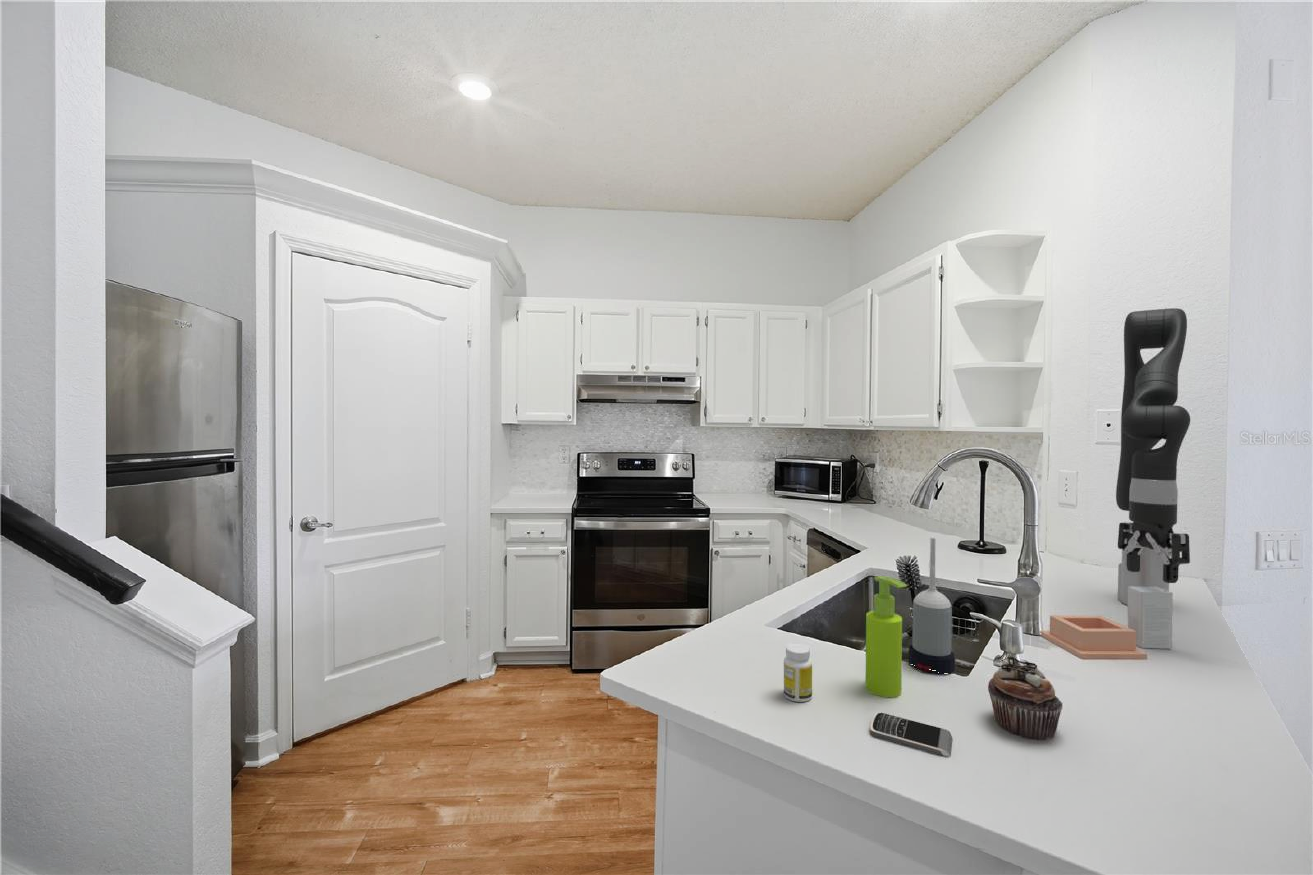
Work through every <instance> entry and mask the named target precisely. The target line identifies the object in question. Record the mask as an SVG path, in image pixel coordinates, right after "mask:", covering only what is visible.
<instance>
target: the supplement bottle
mask: <svg viewBox="0 0 1313 875" xmlns="http://www.w3.org/2000/svg"><path fill="white" fill-rule="evenodd" d="M810 655H811V652H810V647H809V646H807V645H805V644H802V643H790V644H789V643H788V644H786V646H785V657H784V658H783V694H784V696H785V698H786V699H788V700H790V701H791V702H792V701H793V702H796V703H797V702H798V703H806V702H809V701H810V700H811V699H812V698H813V661H812V659H811V658H810V657H811V656H810Z"/></svg>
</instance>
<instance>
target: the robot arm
mask: <svg viewBox="0 0 1313 875" xmlns="http://www.w3.org/2000/svg"><path fill="white" fill-rule="evenodd" d="M1187 330H1188V318H1187V314H1186V312H1185V310H1184V309H1182V308H1179V307H1178V308H1177V307H1176V308H1174V307H1173V308H1171V307H1170V308H1160V309H1147V310H1146V309H1145V310H1137V311H1136V310H1135V311H1131V312H1129V313H1128V314H1127V315H1126V318H1125V320H1124V327H1123V359H1124V360H1123V361H1124V366H1123V367H1124V378H1123V390H1122V391H1123V392H1122V403H1121V415H1120V416H1121V417H1120V418H1121V419H1120V420H1121V421H1120V453H1119V454H1120V455H1119V456H1120V457H1119V463H1118V464H1119V465H1118V472H1117V480H1116V487H1115V499H1116V500H1115V501H1116V505H1117V507H1118V508H1119V509H1120V511H1121V510H1122V511H1125V512H1126V511H1127V512H1128V519H1129V521H1131V522H1119V524H1118V525H1119V526H1118V536H1117V537H1118V538H1117V548H1118V549H1119V550H1121V563H1119V564H1118V569H1117V570H1118V573H1117V600H1119V601H1120V602H1121V603H1122V604H1124V605H1126V606H1128V586H1136V587H1159V588H1162V589H1164V590H1167V591H1169V592H1170V584H1176V583H1177V581H1178V580H1179V570H1180V569H1179V566H1180V565H1187V564H1188V565H1189V564H1190V563H1191V557H1190V556H1191V554H1190V535H1189V534H1188V533H1177V532H1174V530H1173V527H1174V526H1175V525H1176V524H1177V523H1178V498H1179V497H1178V495H1179V494H1178V493H1179V492H1178V486H1177V485H1178V484H1177V475H1178V474H1177V467H1178V458H1179V452H1180V449H1181V446H1182V444H1183V441H1184V439H1185V437H1186V435H1187V432H1188V431H1189V427H1190V425H1191V416H1190V413H1189V411H1188V410H1187V409H1186V408H1184V407H1183V406H1181V405H1176V402H1178V394H1179V370H1180V366H1181V362H1182V359H1183V353H1184V349H1185V344H1186V339H1187ZM1147 349H1148V350H1149V349H1153V350H1154V349H1161V350H1160V351H1159V352H1158V353H1157V354H1156V355H1155V356H1153V357H1152V358H1150V359H1149V360H1147V362H1146V363H1145V362H1144V360H1143V357H1142V354H1141V350H1147ZM1161 440H1165V442H1164V443H1163V445H1162V446H1160V447H1158V448H1154V447H1155V446H1156V445H1157V444H1158V443H1159V442H1160V441H1161Z"/></svg>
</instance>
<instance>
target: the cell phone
mask: <svg viewBox="0 0 1313 875" xmlns="http://www.w3.org/2000/svg"><path fill="white" fill-rule="evenodd" d="M870 734H872V735H871V736H873V737H876V738H879V739H882V740H886V741H889V742H892V743H895V744H900V745H903V746H907V747H910V748H912V749H913V748H914V749H917V750H921V751H925V752H928V753H932V754H936V755H938V756H942V757H951V756H952V748H953V740H954V738H953V736H952V733H951V731H950V730H948V729H946V728H943V727H939V726H938V727H937V726H934V725H930V724H926V723H923V722H920V721H919V722H918V721H915V720H911V719H908V718H904V717H900V716H896V715H892V714H889V713H885V712H877V713H876V714H874V715H873V717H872V719H871V721H870Z"/></svg>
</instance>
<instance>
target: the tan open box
mask: <svg viewBox="0 0 1313 875" xmlns="http://www.w3.org/2000/svg"><path fill="white" fill-rule="evenodd" d="M1039 633H1041V637H1042V636H1043V637H1042V638H1044V639H1046V640H1048V641H1050V642H1051V643H1053V644H1055V645H1056V646H1058V647H1060V648H1061V649H1063V650H1065V651H1067V652H1068V653H1071V654H1072V655H1074V656H1075V657H1078V658H1079V659H1081V660H1148V654H1147V653H1146V652H1144V651H1141V650H1140V649H1138V648H1137V645H1136V631H1134V630H1132V629H1130V628H1128V626H1125V625H1123V624H1121V623H1118V622H1116V621H1113V620H1111V619H1109V618H1107V617H1105V616H1103V615H1049V630H1040V631H1039Z"/></svg>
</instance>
